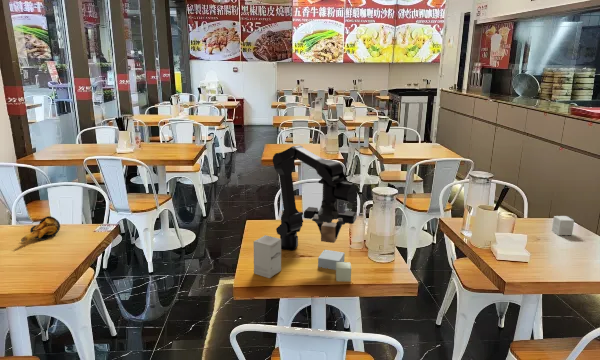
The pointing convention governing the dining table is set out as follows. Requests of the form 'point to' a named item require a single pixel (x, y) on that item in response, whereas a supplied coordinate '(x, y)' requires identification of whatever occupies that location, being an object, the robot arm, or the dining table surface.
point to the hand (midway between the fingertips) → (329, 236)
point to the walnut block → (328, 232)
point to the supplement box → (267, 256)
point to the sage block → (343, 271)
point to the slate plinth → (330, 259)
